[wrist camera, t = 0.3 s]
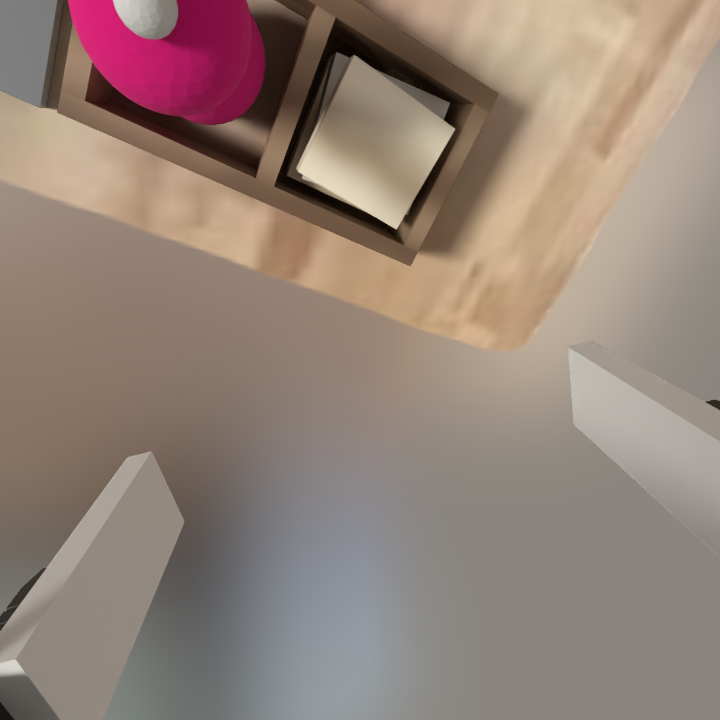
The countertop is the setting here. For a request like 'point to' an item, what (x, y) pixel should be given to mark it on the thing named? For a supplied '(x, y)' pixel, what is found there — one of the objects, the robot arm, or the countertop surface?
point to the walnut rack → (325, 16)
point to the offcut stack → (369, 139)
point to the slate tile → (28, 47)
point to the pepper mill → (176, 54)
